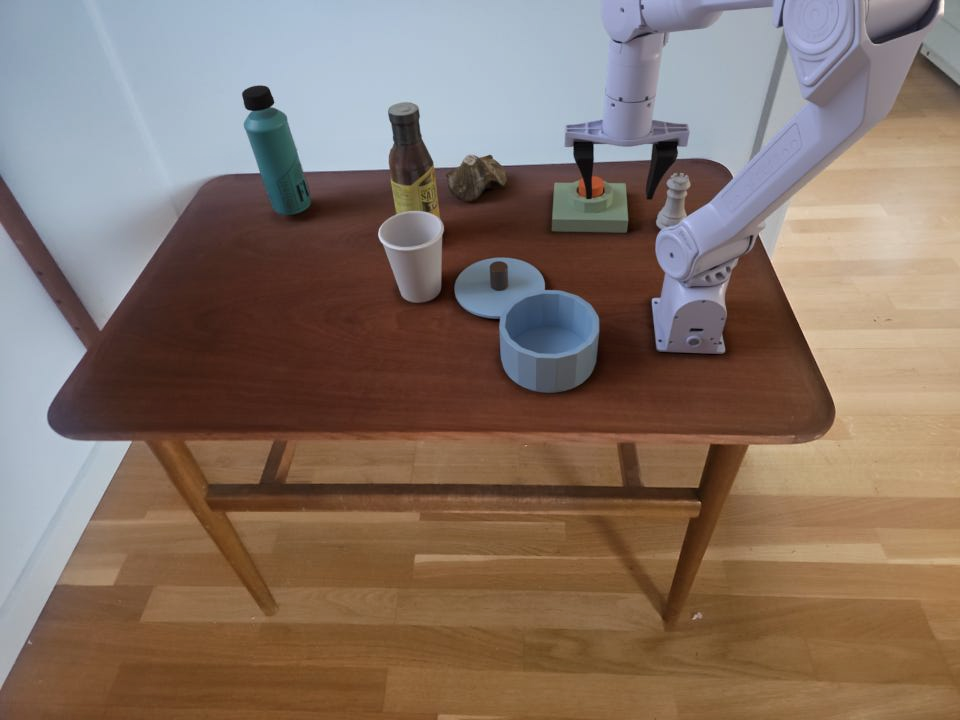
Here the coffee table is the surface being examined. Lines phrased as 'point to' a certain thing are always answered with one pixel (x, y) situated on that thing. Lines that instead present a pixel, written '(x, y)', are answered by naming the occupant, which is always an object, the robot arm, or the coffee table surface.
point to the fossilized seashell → (475, 177)
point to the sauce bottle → (411, 163)
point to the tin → (549, 340)
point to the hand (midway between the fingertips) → (618, 195)
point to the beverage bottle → (275, 152)
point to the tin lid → (495, 285)
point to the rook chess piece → (674, 201)
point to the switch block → (590, 209)
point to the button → (596, 187)
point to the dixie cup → (414, 253)
